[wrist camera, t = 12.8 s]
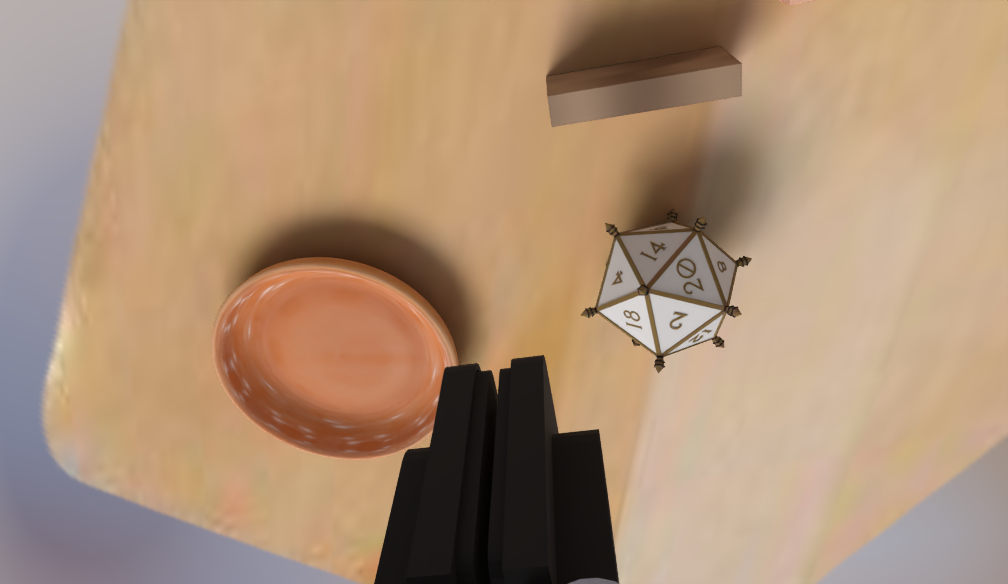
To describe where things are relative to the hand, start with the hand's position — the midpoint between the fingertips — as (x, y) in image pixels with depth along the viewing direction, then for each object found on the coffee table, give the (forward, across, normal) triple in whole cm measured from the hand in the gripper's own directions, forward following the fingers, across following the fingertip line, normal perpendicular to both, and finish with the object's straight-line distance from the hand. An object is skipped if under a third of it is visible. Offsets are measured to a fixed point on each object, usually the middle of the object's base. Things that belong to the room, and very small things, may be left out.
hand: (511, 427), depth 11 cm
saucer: (+28, +15, +16) cm, 35 cm away
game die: (+28, -6, +12) cm, 31 cm away
